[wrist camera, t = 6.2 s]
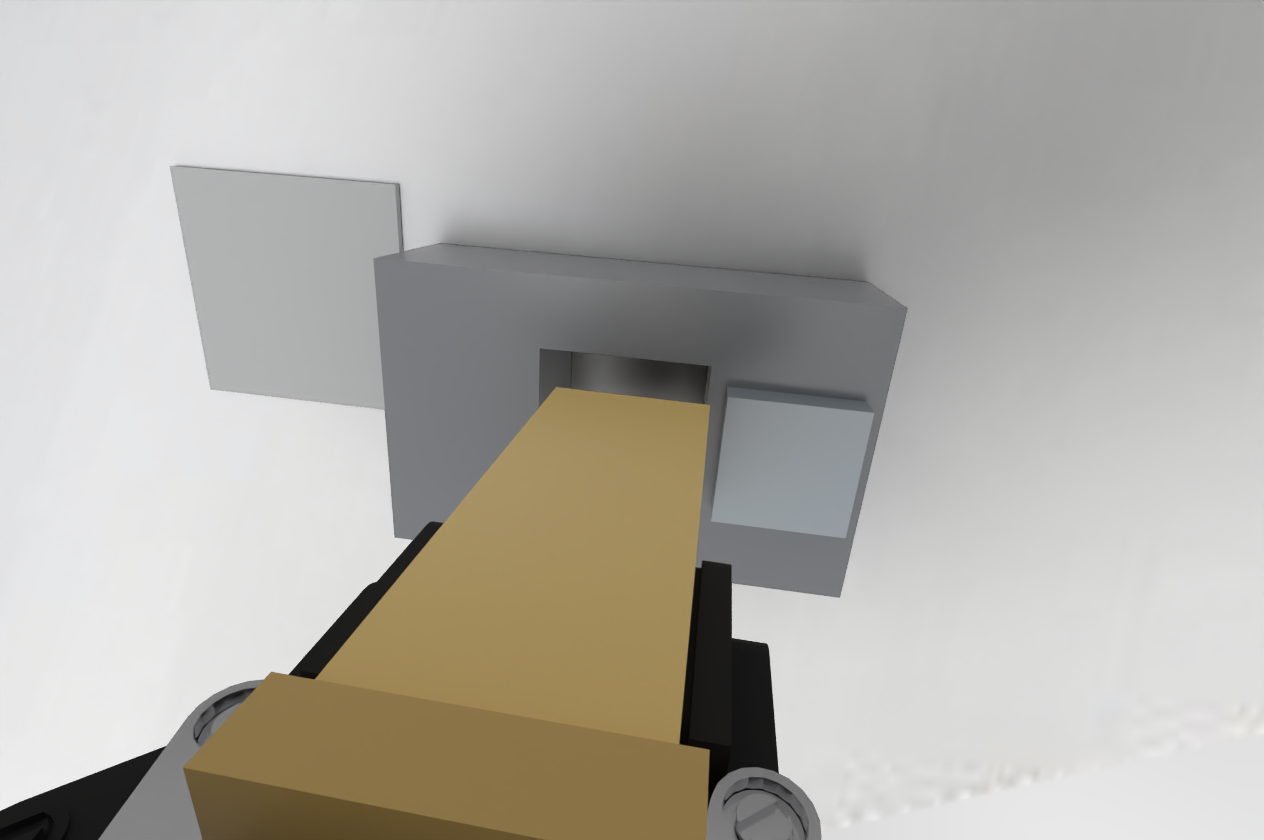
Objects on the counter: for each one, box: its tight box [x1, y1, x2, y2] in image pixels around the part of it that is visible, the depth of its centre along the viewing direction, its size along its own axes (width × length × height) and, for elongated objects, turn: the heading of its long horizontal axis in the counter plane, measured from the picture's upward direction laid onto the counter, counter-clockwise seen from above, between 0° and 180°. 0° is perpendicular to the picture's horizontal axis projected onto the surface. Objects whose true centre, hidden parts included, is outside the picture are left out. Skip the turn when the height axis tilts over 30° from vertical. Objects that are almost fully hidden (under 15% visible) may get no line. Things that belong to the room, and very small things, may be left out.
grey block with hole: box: [373, 243, 908, 598], centre depth 22 cm, size 16×10×6 cm, turn 86°
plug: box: [183, 387, 710, 840], centre depth 12 cm, size 5×5×12 cm
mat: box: [170, 166, 403, 410], centre depth 25 cm, size 9×9×1 cm
